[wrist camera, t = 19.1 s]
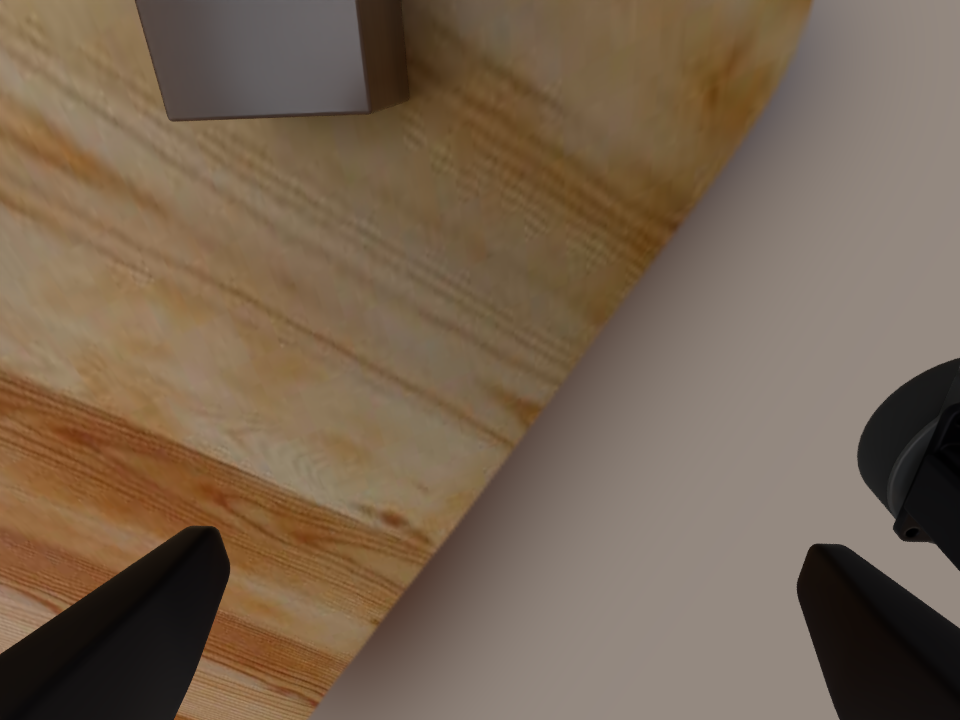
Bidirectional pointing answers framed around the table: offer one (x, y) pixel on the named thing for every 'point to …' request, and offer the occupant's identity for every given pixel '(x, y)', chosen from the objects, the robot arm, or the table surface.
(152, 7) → the block
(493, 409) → the table surface
